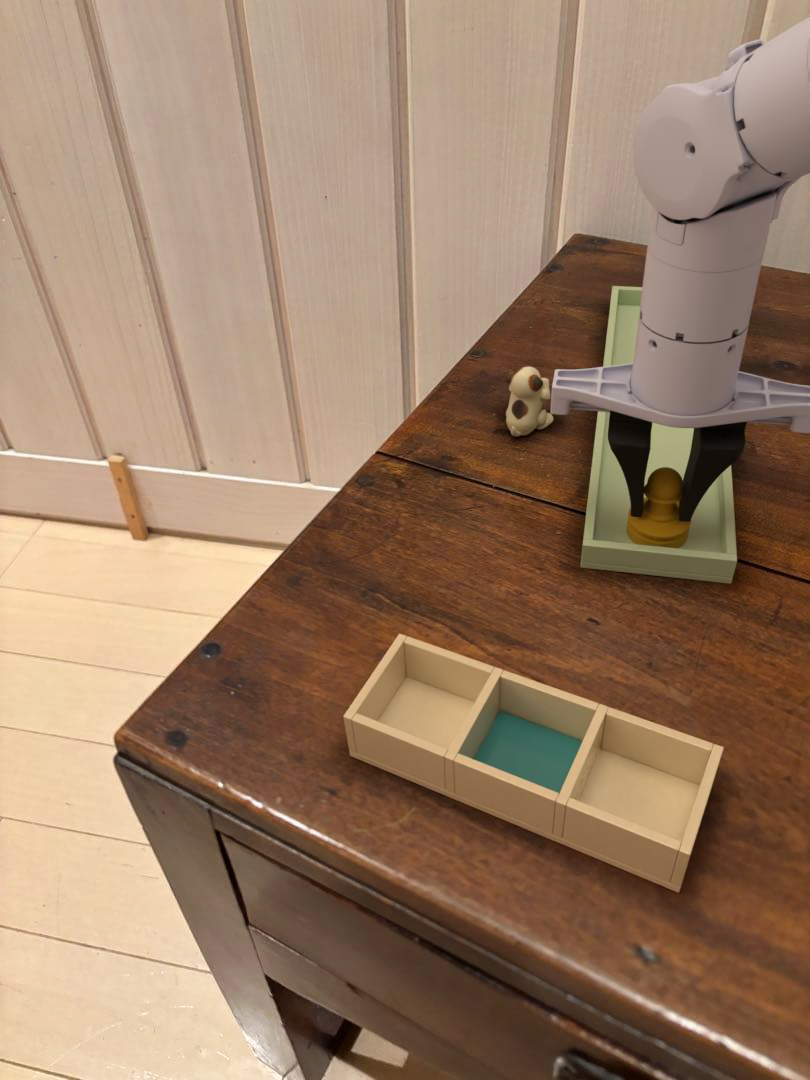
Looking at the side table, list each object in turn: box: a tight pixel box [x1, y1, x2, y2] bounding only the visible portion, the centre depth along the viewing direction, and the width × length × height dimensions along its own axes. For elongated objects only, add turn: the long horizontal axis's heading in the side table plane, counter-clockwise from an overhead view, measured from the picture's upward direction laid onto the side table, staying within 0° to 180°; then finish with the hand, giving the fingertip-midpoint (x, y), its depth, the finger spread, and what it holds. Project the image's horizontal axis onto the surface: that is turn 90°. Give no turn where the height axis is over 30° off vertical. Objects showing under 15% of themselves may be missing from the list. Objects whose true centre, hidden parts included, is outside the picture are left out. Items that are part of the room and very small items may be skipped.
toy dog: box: [505, 365, 554, 437], centre depth 69 cm, size 4×5×5 cm
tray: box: [579, 285, 738, 585], centre depth 69 cm, size 34×9×2 cm, turn 168°
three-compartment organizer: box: [342, 633, 725, 893], centre depth 47 cm, size 18×6×4 cm, turn 63°
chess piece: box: [626, 467, 691, 548], centre depth 58 cm, size 4×4×5 cm
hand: (660, 509), depth 59 cm, fingers closed on chess piece, 2 cm apart
